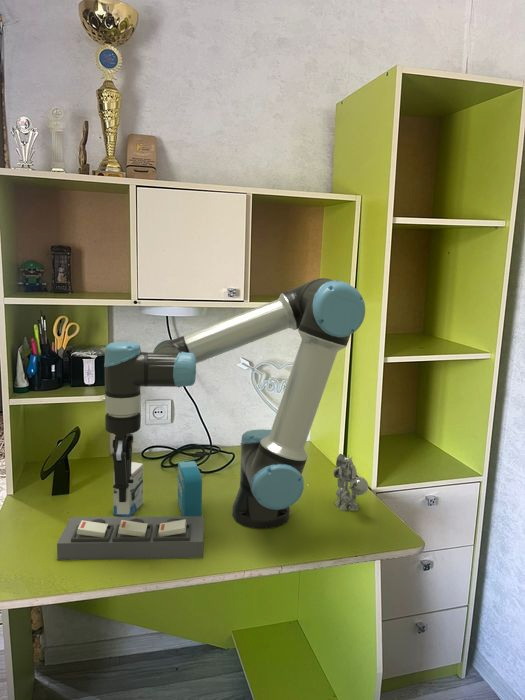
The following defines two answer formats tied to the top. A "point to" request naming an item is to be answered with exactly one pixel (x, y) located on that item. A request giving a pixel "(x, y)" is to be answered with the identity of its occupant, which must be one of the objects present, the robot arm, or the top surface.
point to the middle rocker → (132, 528)
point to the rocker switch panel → (132, 540)
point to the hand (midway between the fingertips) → (123, 512)
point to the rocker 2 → (172, 528)
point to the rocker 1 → (92, 528)
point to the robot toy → (344, 476)
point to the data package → (189, 489)
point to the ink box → (133, 489)
